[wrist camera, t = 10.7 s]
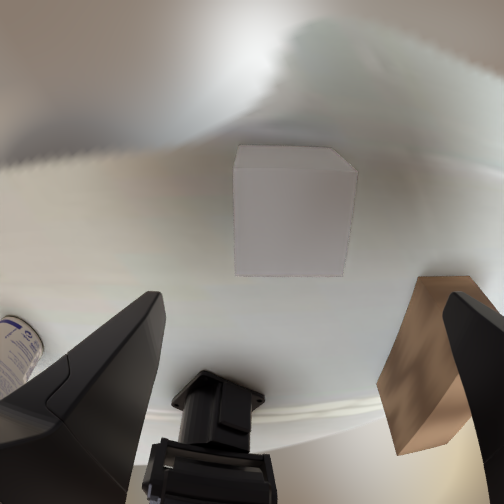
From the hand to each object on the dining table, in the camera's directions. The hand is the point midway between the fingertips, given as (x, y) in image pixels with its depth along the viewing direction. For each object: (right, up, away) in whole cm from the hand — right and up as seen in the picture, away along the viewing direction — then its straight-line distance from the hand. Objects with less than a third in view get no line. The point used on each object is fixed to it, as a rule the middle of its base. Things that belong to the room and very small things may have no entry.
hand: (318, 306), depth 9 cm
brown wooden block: (+12, -5, +15) cm, 20 cm away
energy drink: (-24, -6, +16) cm, 29 cm away
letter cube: (0, +5, +9) cm, 10 cm away
